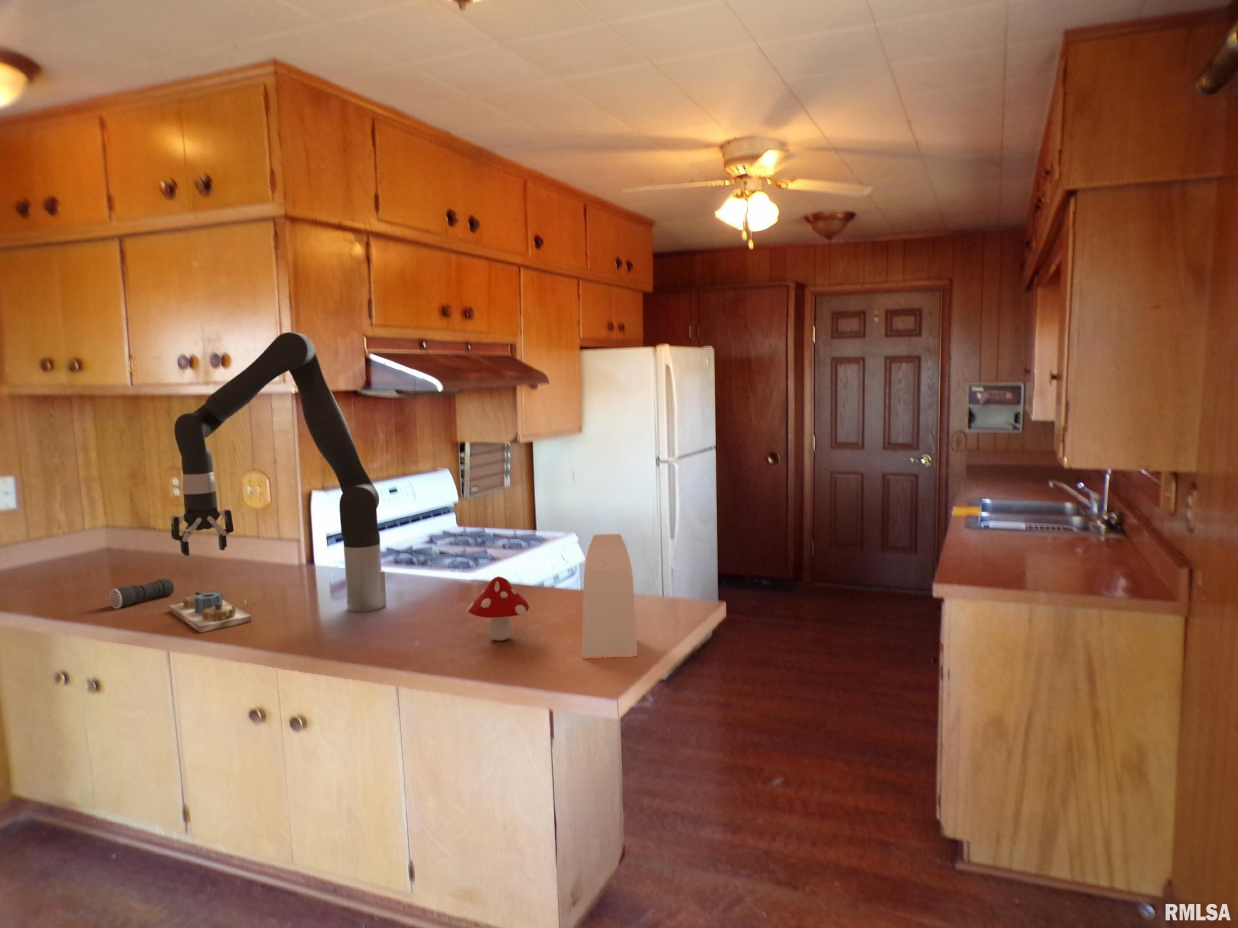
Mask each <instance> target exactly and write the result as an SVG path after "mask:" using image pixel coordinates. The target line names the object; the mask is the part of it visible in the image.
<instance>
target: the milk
mask: <svg viewBox="0 0 1238 928" xmlns="http://www.w3.org/2000/svg"><path fill="white" fill-rule="evenodd" d="M629 555H630V554H629V552H628V549H627V546H626V544H625V541H624V539H623V537H622V534H621V533H598V534H597V533H596V534H595V533H594V534H593V535H592V538H591V540H590V542H589V545H588V548H587V552H586V556H585V558H584V564H583V565H584V566H583V568H584V569H583V601H582V602H583V604H582V641H581V642H582V643H581V645H582V647H581V657H582V656H597V655H614V654H623V653H635V652H637V653H638V646H637V644H638V643H637V629H636V610H635V609H636V608H635V607H636V606H635V592H634V591H635V590H634V577H633V575H634V574H633V568H632V563H631V559H630V556H629Z"/></svg>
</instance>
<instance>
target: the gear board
mask: <svg viewBox="0 0 1238 928" xmlns="http://www.w3.org/2000/svg"><path fill="white" fill-rule="evenodd" d="M201 594H202V592H201V591H199V590H198V591H196V592H195V594H192V595H190V596H185V597H183V599H182V602H180V603H176V604H172V605H171V604H169V612H171V613H172V614H173V615H175V616H176V617H178V618H179V619H181V620H182V621H183V622H185V623H187V624H188V625H189V626H190V627H192V628H193V629H195V630H196V631H198V632H199V633H204V632H208V631H213V630H218V629H223V628H227V627H231V626H236V625H240V624H246V623H249V622H252V616H251V614H249V613H246V611H244V610H242V609H240V608H238V607H236V606H235V605H233V604H231V603H229V602H227V601H225V600H224V599H222V602H223V606H222V604H221V603H217V604H216V605H215V606H213V607H212V608H209V609H204V610H203V612H202V614H200V613H197V614H196V613H195V609H194V598H195V597H194V596H196V595H201Z"/></svg>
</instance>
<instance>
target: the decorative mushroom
mask: <svg viewBox="0 0 1238 928" xmlns="http://www.w3.org/2000/svg"><path fill="white" fill-rule="evenodd" d="M529 609H530V605H529V603H528V602H527V600H526V599H524V597H522V596H521V594H519V592H518V591H517V590H516V589H514V588H513V587H512V584H511V582H510V581H509V580H508V579H507V578H504V577H503V576H496V577H493V578H492V579H491V581H490V582H489V583H488V585H487V586H486V588H485V589H483V590H481V592H480V595H478V597H477V598H476V599H475V600H474V601H473V602H472V603H470V604H469V606H468V607H467V612H468V613H469V614H470V615H473V616H474V617H478V618H482V619H490V623H489V625H488V626H489V627H488V633H487V634H488V637H489V639H491V640H493V641H498V642H500V641H505V640H508V639H509V638H511V636H512V635H513V628H512V625H511V622H510V619H509V618H513V617H516V616H523V615H525V613H527V612H528V611H529Z"/></svg>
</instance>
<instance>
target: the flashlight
mask: <svg viewBox="0 0 1238 928" xmlns="http://www.w3.org/2000/svg"><path fill="white" fill-rule="evenodd" d="M174 588H175V587H174V583H173V581H172V580H171V579H170V578H160V579H157V580H155V581H153V582H148V583H146V584H142V585H141V584H140V585H138V584H137V585H136V584H135V585H131V586H121V587H117V588H112V589H111V590H110V592H109V602H110V604H111V606H112V608H113V609H122V608H127V607H130V606H131V605H135V604H139V603H141V601H146V600H149V599H151V600H152V599H157V598H166V597H169V596H171V595H172V594H173V593H174Z"/></svg>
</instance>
